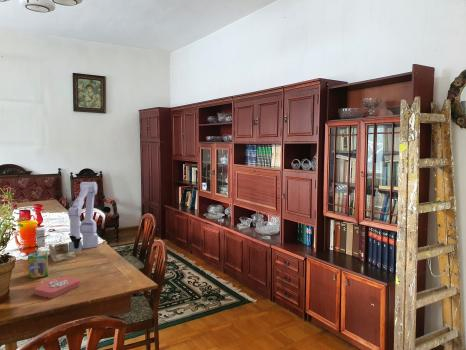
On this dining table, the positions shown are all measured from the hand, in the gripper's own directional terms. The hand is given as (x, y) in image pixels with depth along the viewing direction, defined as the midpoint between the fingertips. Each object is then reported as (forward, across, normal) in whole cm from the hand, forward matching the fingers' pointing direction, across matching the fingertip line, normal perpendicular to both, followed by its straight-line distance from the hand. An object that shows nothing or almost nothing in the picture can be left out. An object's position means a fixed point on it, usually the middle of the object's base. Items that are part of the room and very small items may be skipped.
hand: (75, 247), depth 233 cm
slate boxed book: (+2, 0, 0) cm, 2 cm away
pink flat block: (+6, +51, -20) cm, 55 cm away
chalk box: (+5, +25, -24) cm, 35 cm away
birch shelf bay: (+5, -2, -7) cm, 9 cm away
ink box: (+5, -35, -16) cm, 39 cm away
